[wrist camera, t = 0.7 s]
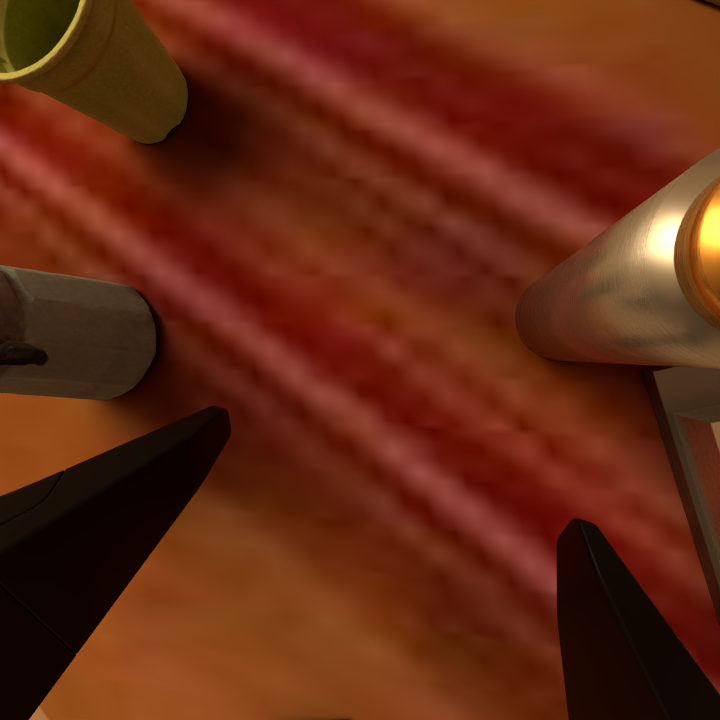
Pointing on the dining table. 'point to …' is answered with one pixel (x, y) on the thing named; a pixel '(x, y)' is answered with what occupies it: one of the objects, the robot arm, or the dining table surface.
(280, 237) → the dining table surface
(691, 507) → the dock
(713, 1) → the flask
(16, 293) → the moka pot
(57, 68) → the plant pot
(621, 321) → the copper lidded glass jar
